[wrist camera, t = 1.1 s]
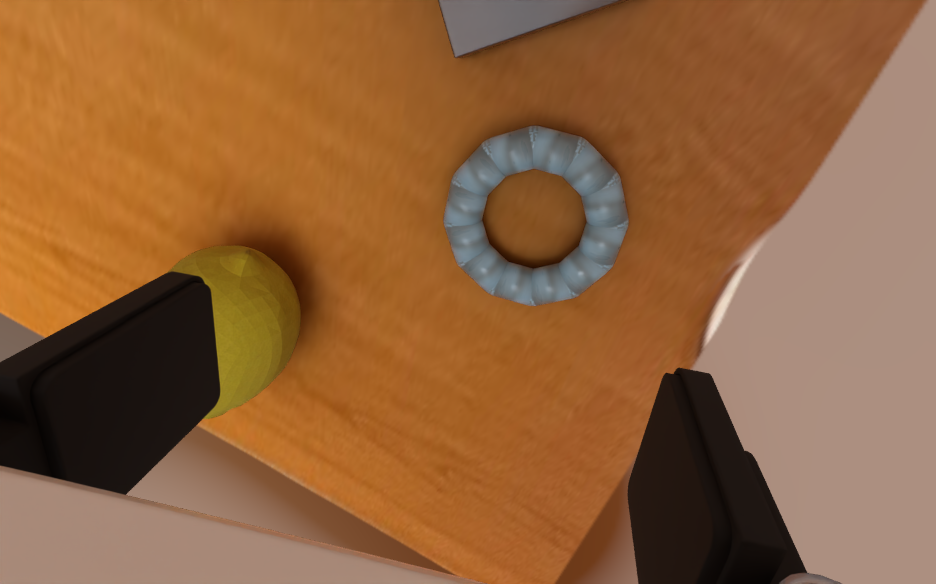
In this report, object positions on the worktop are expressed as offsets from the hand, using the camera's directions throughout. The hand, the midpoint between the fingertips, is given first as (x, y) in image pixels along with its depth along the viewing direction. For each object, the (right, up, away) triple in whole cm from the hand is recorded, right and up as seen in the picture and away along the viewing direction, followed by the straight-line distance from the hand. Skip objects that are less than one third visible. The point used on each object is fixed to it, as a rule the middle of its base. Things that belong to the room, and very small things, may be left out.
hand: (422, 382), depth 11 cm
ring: (+4, +6, +17) cm, 18 cm away
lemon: (-12, +1, +23) cm, 26 cm away
